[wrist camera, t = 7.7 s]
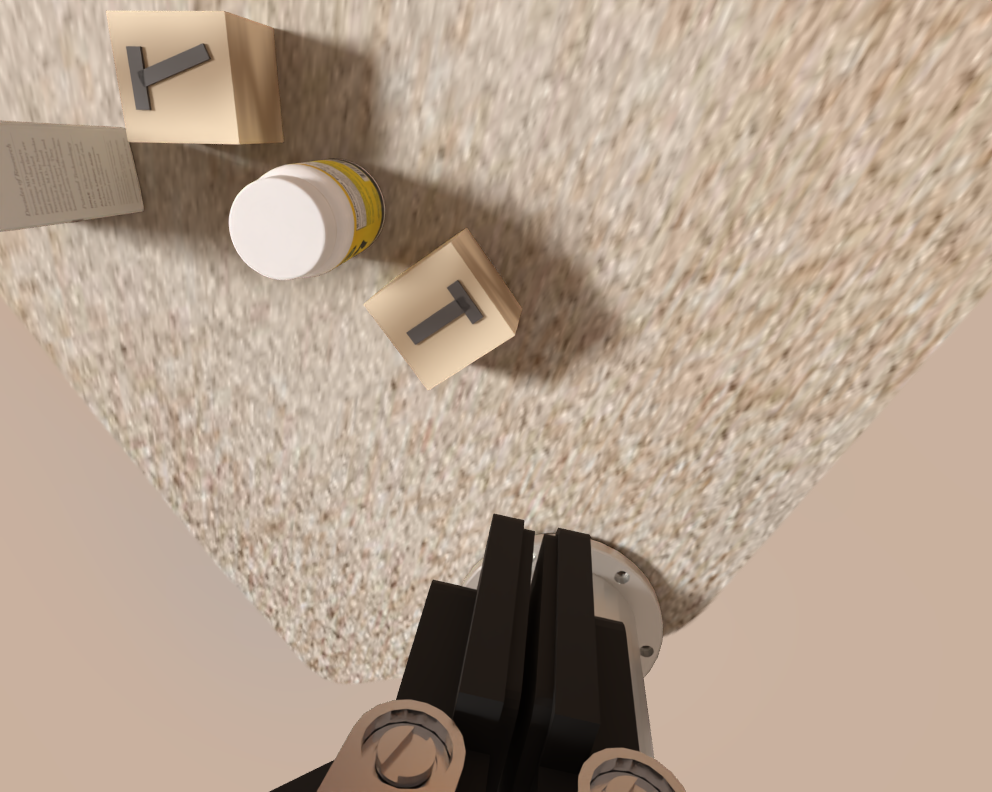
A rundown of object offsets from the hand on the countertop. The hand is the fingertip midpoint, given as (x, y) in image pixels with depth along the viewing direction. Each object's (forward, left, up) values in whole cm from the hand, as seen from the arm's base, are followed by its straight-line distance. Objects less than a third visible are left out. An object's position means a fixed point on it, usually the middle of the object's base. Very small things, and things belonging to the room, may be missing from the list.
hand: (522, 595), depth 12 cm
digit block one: (+1, +5, -25) cm, 26 cm away
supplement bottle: (+7, +9, -25) cm, 28 cm away
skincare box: (+13, +21, -25) cm, 35 cm away
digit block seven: (+14, +12, -25) cm, 31 cm away
